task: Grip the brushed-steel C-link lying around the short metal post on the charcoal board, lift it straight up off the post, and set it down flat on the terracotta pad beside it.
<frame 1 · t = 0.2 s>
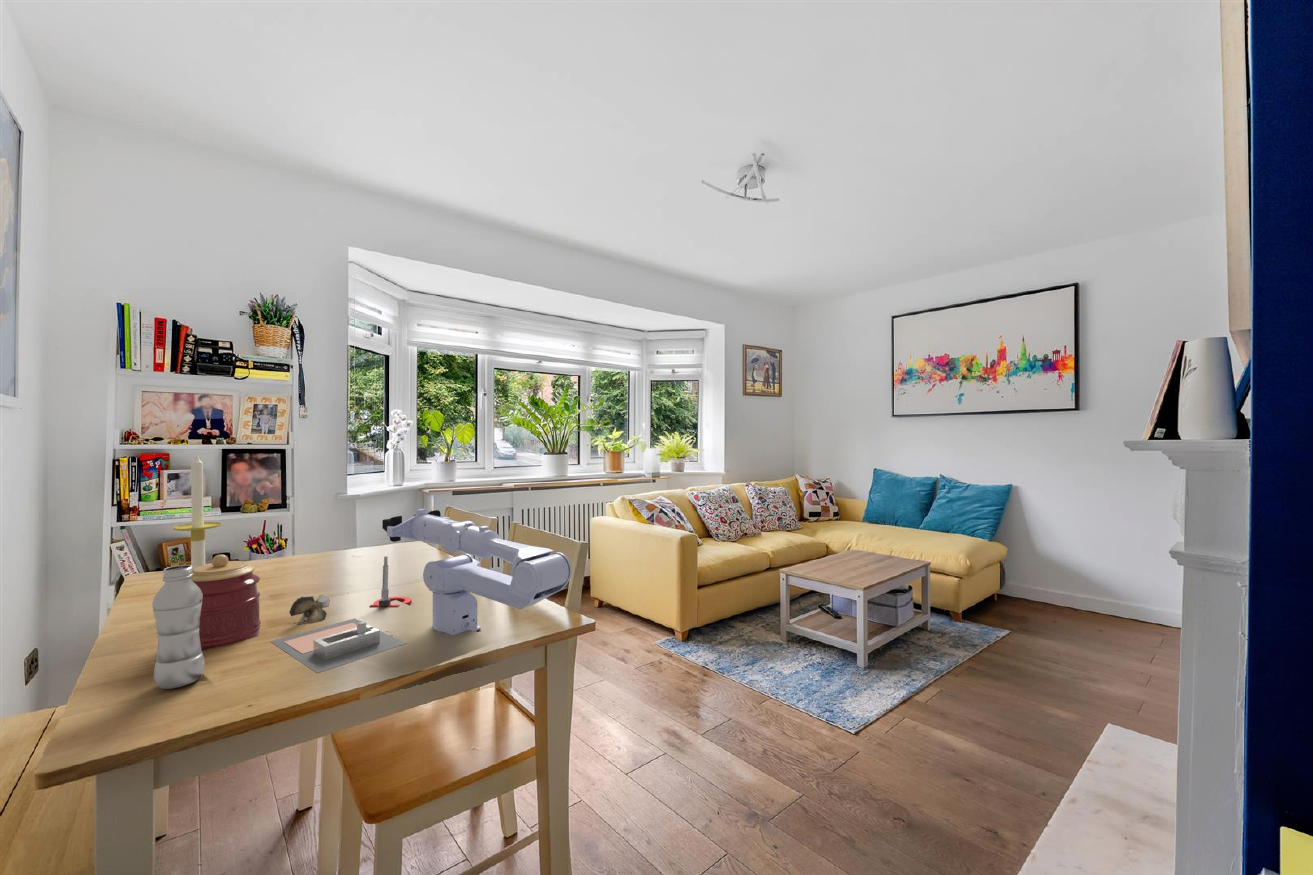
hand: (399, 521, 127), 21 cm above the table, tool horizontal, fingers open, 7 cm apart
tow hook: (391, 606, 132), on the table
post board: (338, 647, 107), on the table
eagle figurine: (309, 624, 120), on the table
c link: (347, 647, 104), point 1 cm above the table, touching post board
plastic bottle: (179, 685, 91), on the table
candle: (198, 613, 125), on the table
canister: (221, 641, 110), on the table
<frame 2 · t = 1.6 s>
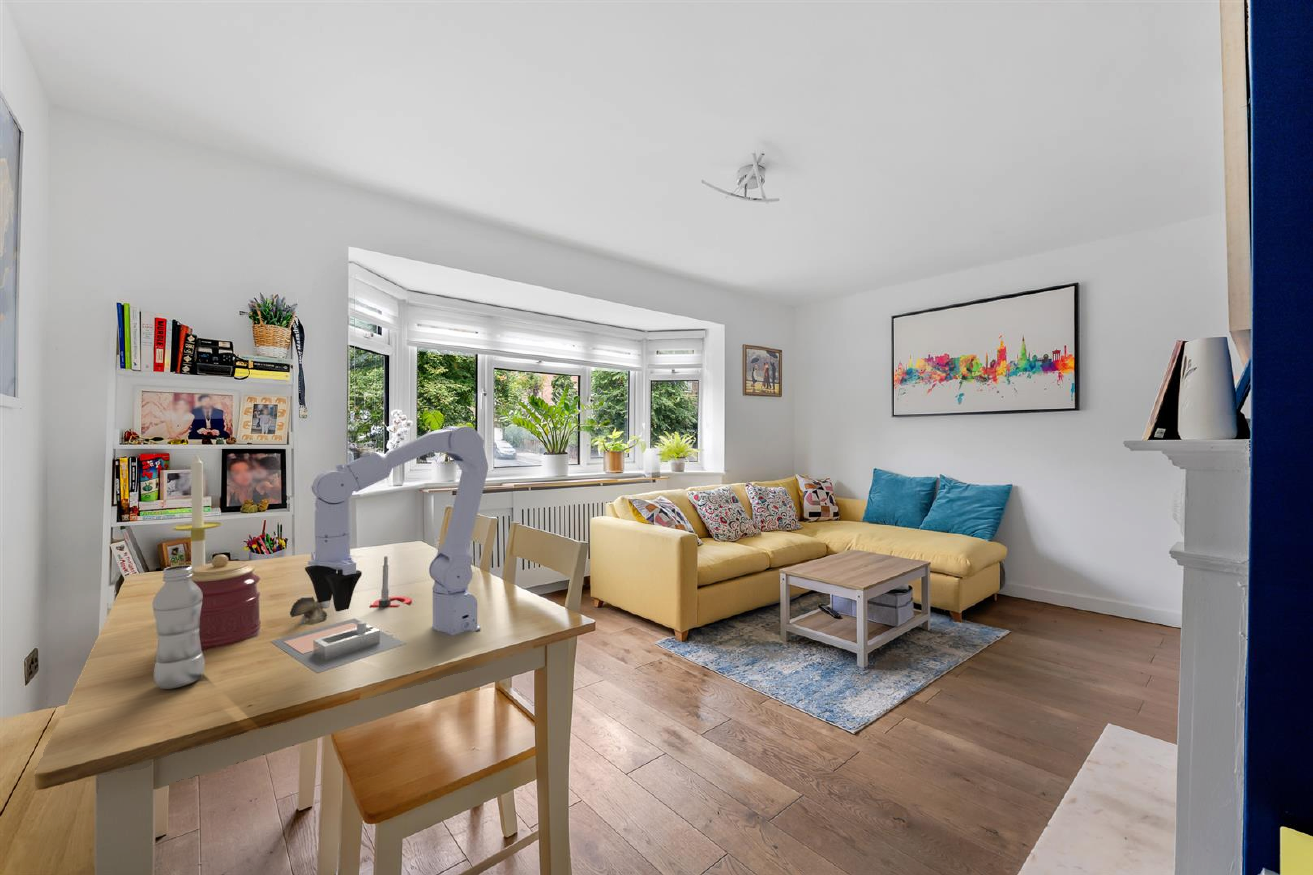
hand: (333, 605, 102), 10 cm above the table, tool pointing down, fingers open, 7 cm apart
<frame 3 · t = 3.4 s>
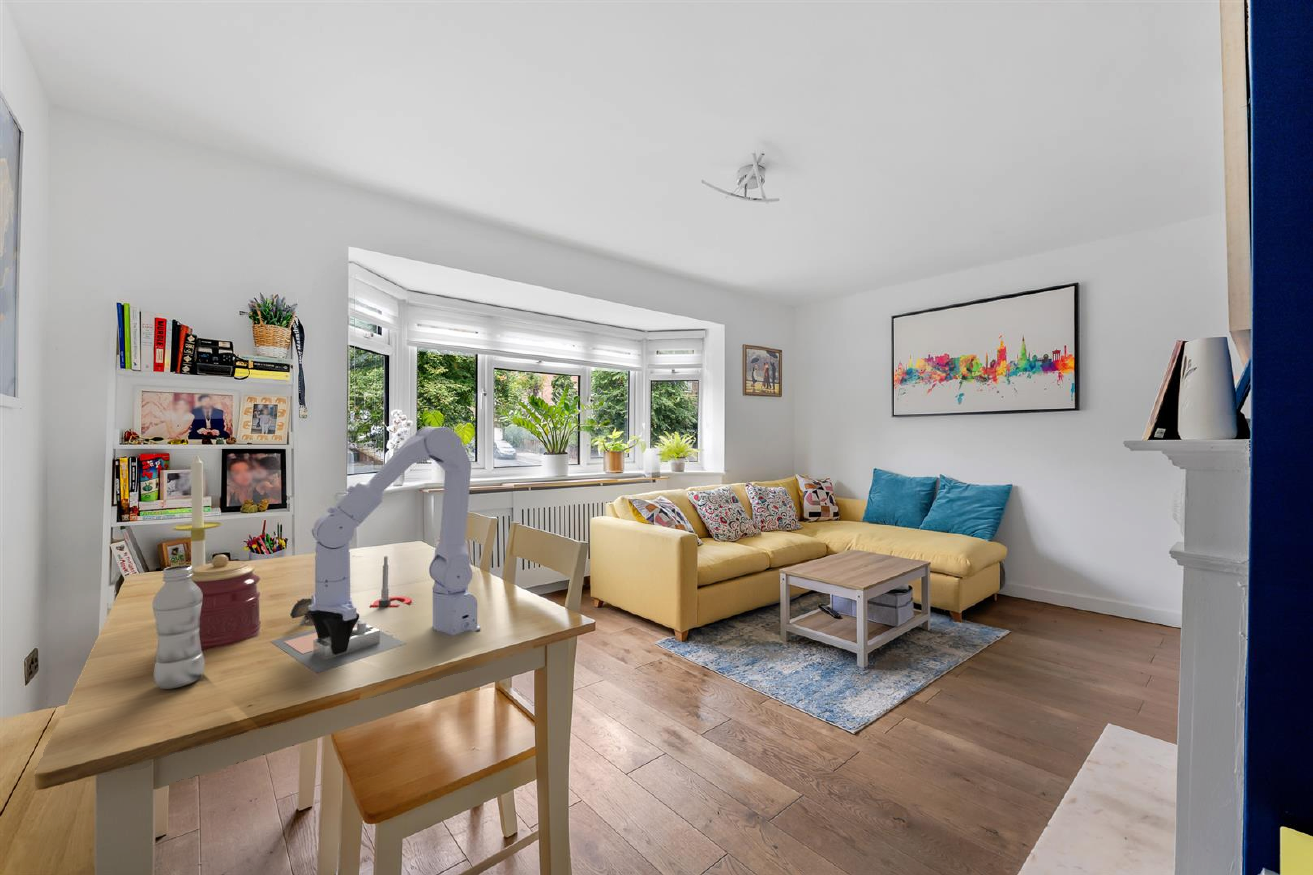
hand: (333, 648, 102), 2 cm above the table, tool pointing down, fingers closed on c link, 5 cm apart
c link: (347, 647, 104), point 1 cm above the table, touching gripper, post board
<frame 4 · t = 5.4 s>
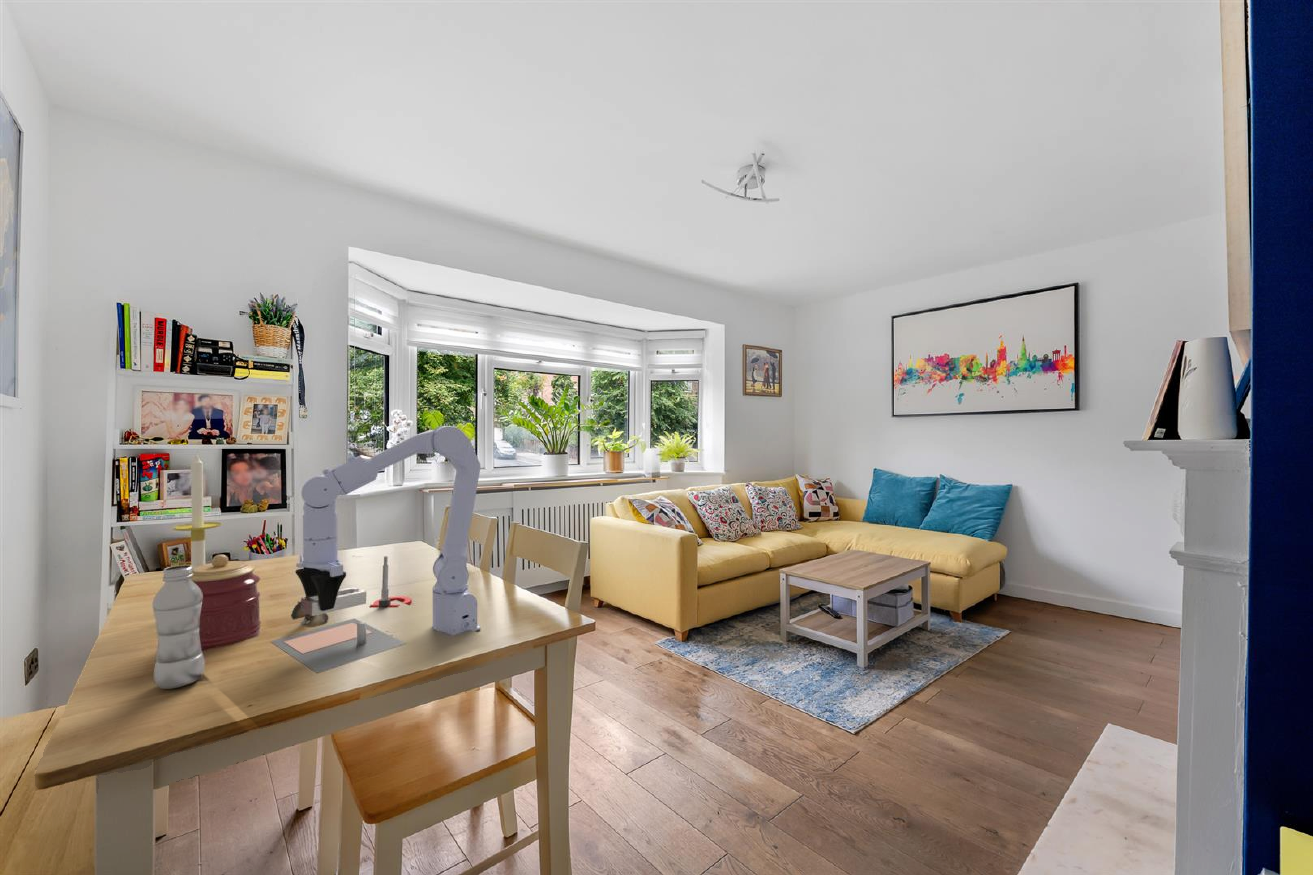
hand: (320, 606, 105), 9 cm above the table, tool pointing down, fingers closed on c link, 5 cm apart
c link: (334, 606, 107), point 8 cm above the table, touching gripper
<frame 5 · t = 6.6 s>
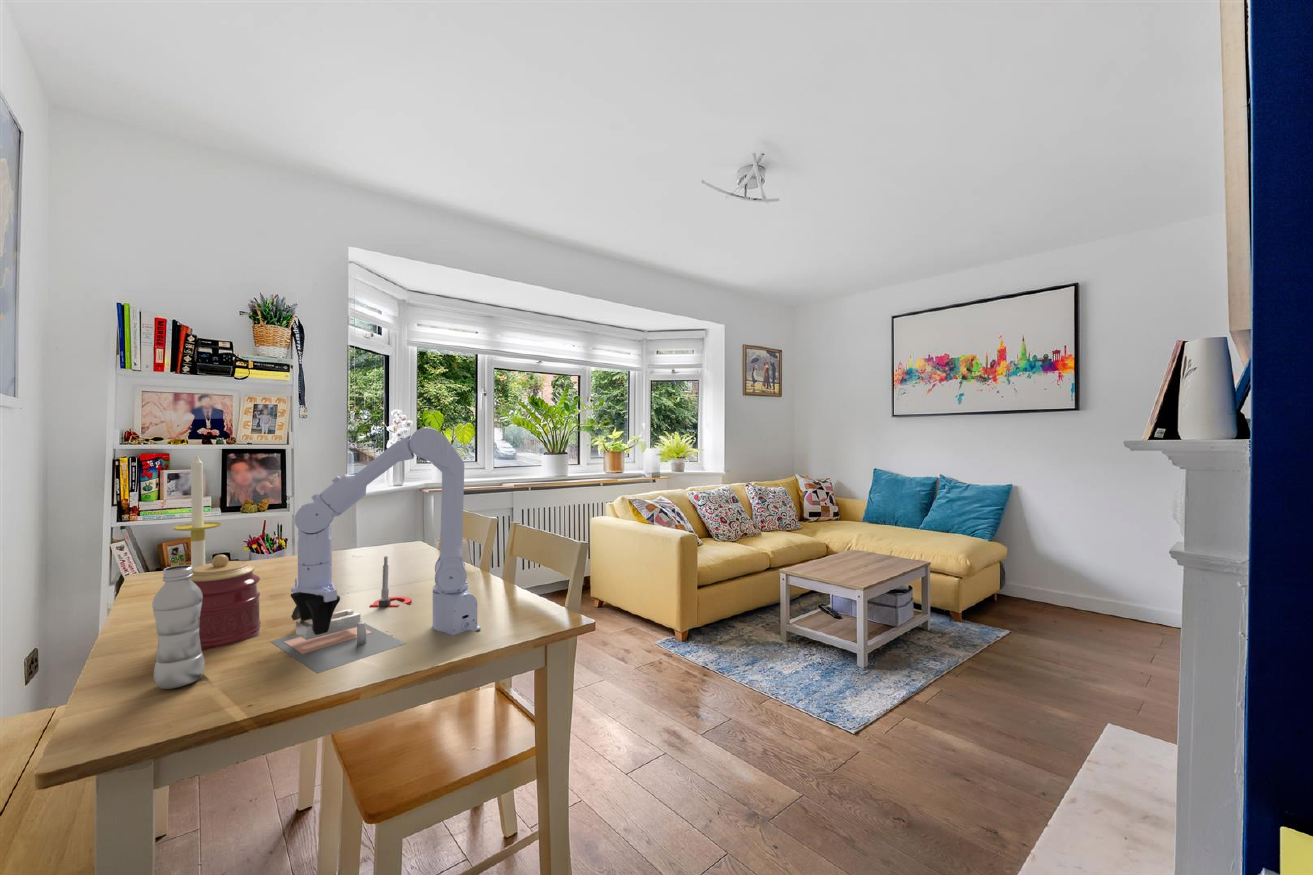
hand: (315, 629, 107), 3 cm above the table, tool pointing down, fingers closed on c link, 5 cm apart
c link: (328, 629, 109), point 3 cm above the table, touching gripper
when the fingers open (3 cm above the table, at t = 7.6 s): c link drops 1 cm, resting on post board.
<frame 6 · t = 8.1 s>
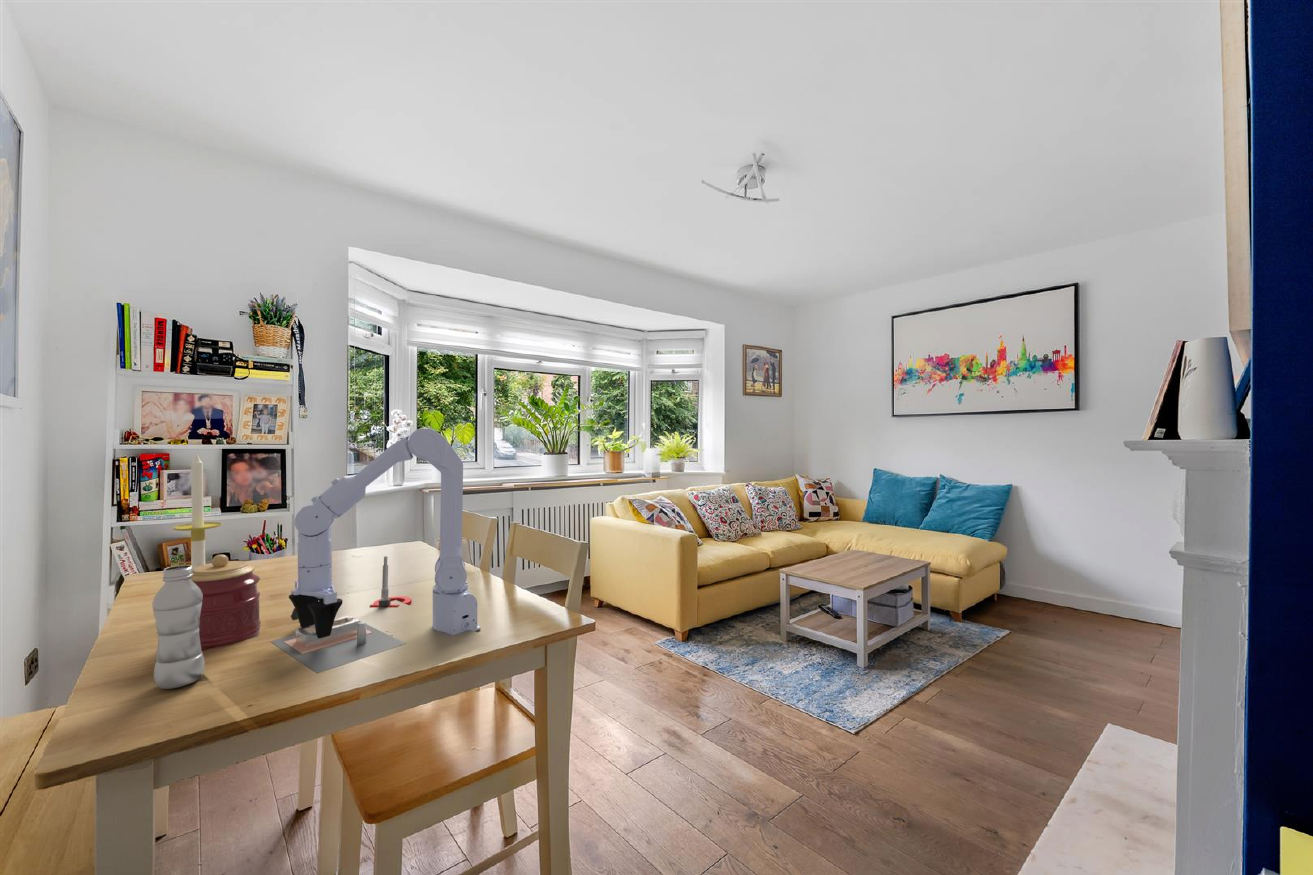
hand: (315, 631, 107), 3 cm above the table, tool pointing down, fingers open, 7 cm apart
c link: (328, 637, 109), point 1 cm above the table, touching post board
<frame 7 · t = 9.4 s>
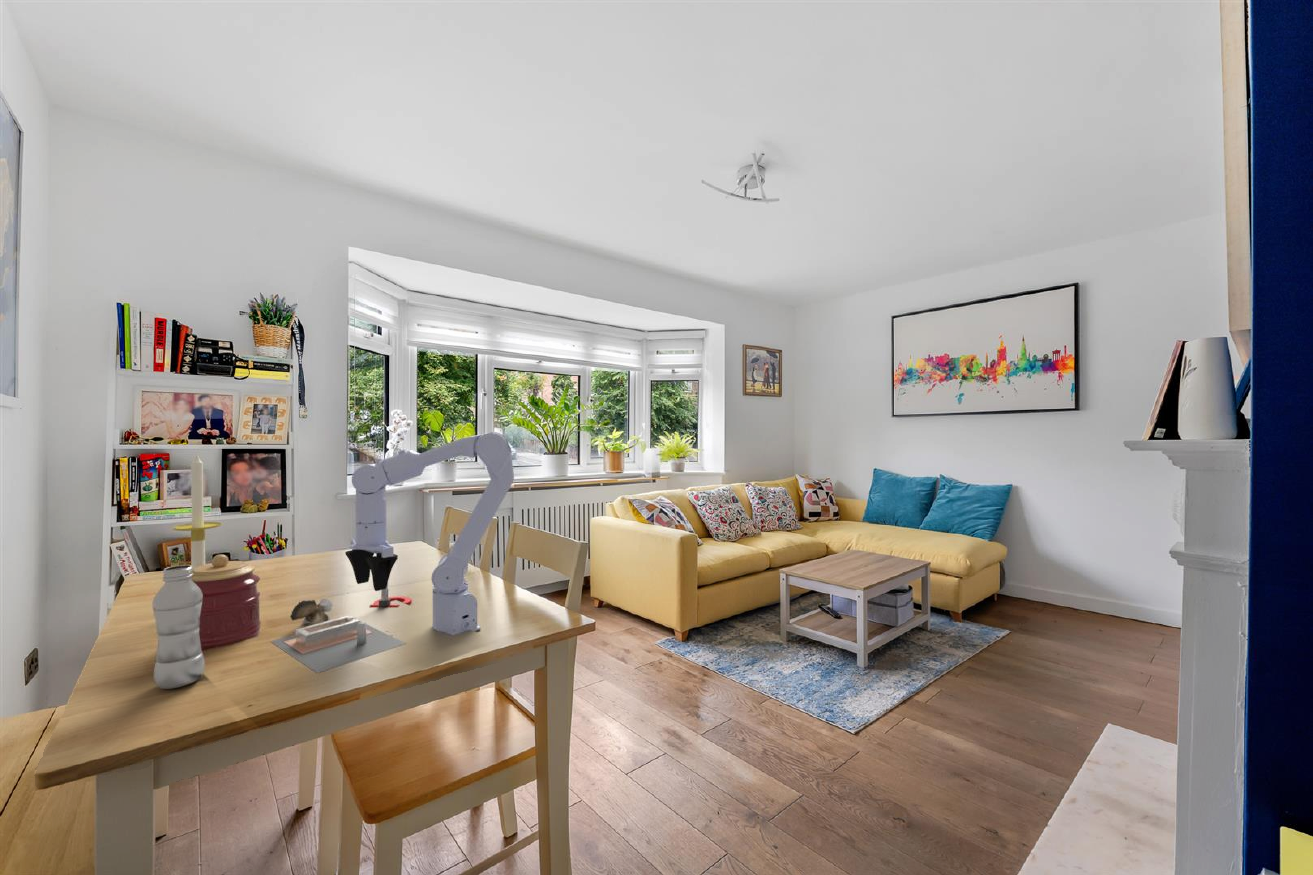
hand: (371, 586, 113), 10 cm above the table, tool pointing down, fingers open, 7 cm apart
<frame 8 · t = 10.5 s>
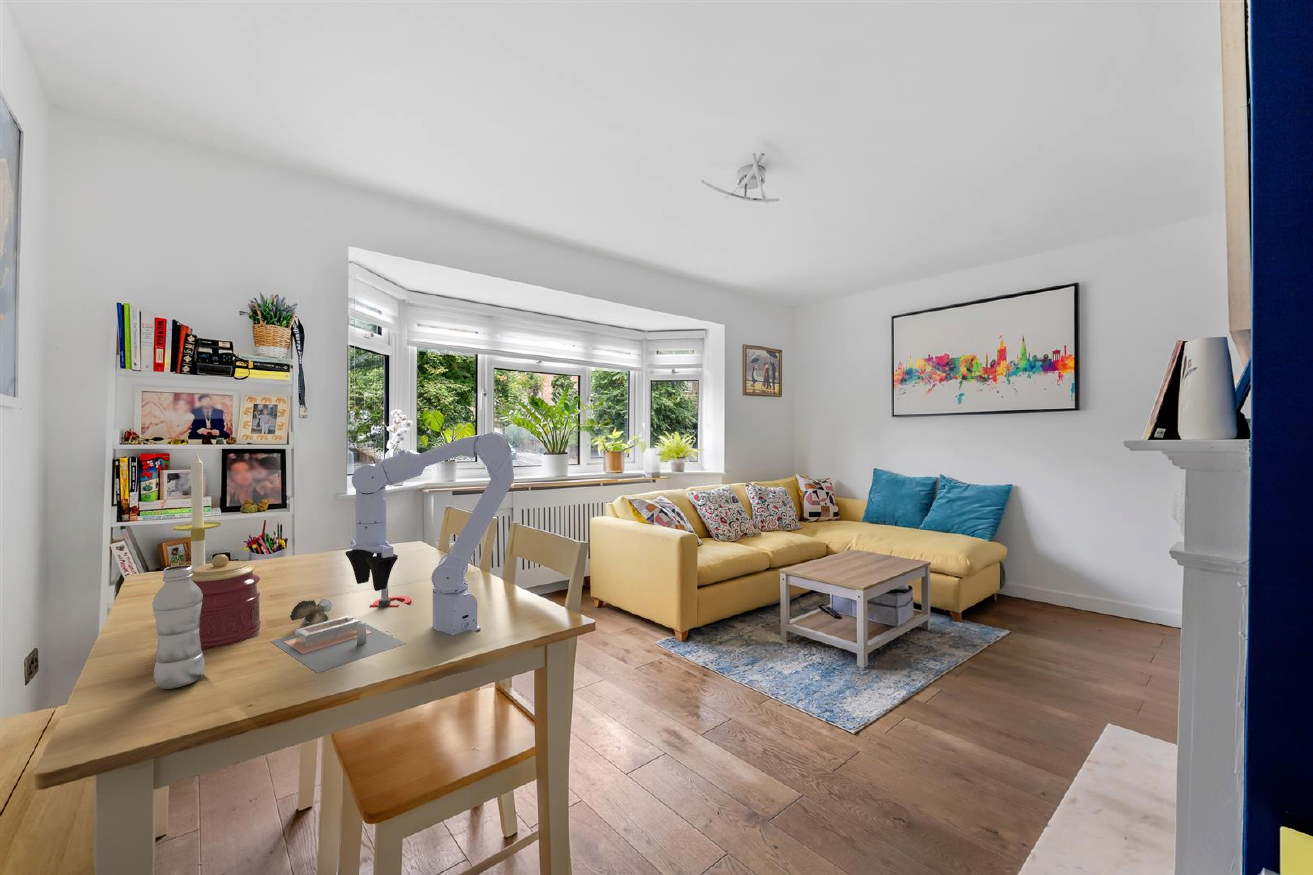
hand: (371, 586, 113), 10 cm above the table, tool pointing down, fingers open, 7 cm apart
at the end: c link 0.1 cm from the target spot on the post board, point 1.1 cm above the post board's base; c link tilted 0°; the gripper is holding nothing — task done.
